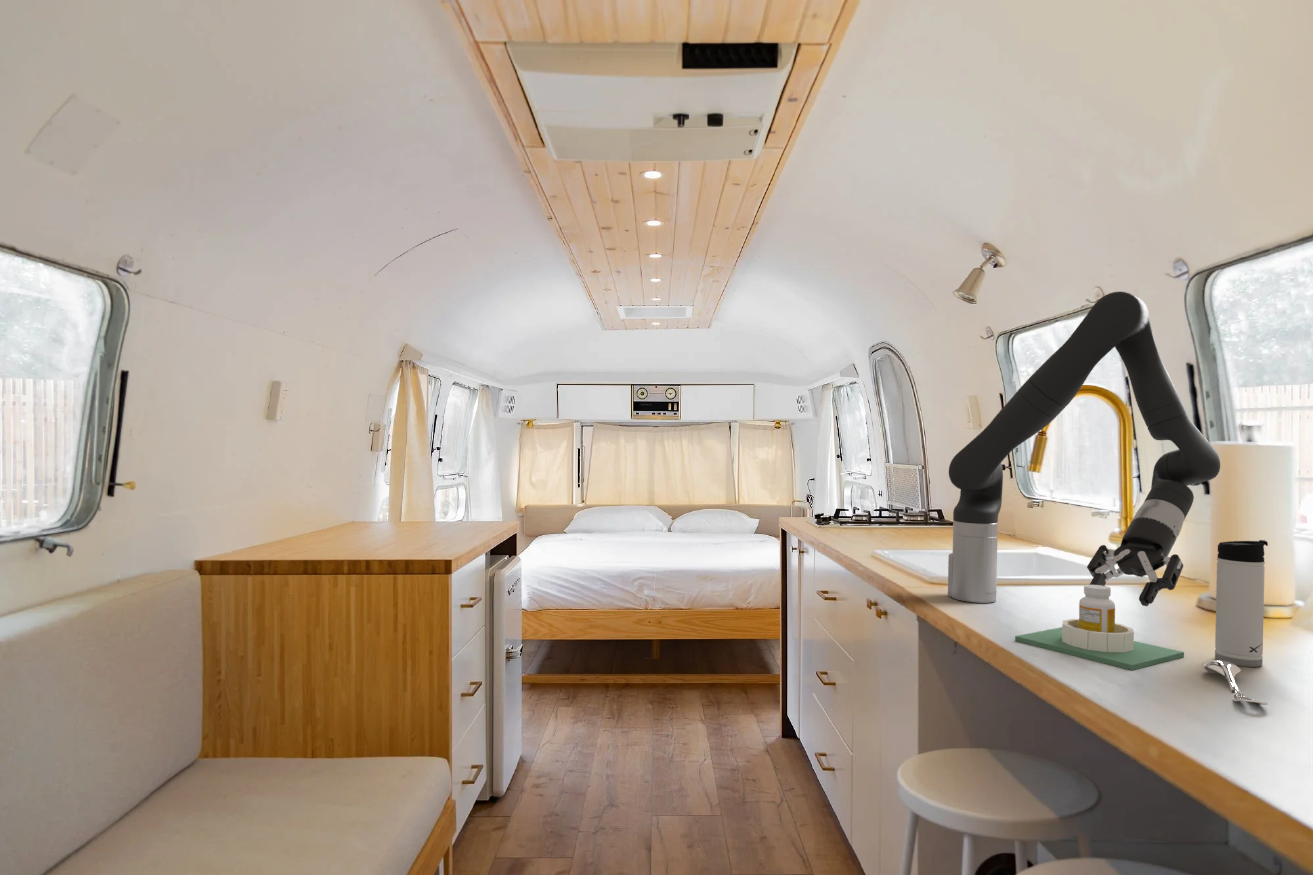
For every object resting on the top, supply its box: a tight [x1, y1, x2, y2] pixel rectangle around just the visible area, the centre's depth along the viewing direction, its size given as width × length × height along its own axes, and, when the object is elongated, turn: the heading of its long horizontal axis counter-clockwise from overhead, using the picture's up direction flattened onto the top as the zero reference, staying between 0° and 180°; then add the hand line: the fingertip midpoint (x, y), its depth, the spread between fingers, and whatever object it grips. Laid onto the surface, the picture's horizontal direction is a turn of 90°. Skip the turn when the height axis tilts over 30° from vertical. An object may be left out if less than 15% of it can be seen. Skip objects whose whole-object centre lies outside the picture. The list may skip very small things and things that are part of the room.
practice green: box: [1014, 618, 1185, 671], centre depth 136 cm, size 20×16×4 cm
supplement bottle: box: [1078, 584, 1116, 633], centre depth 136 cm, size 5×5×10 cm
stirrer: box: [1202, 659, 1269, 706], centre depth 114 cm, size 20×4×5 cm
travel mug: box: [1214, 539, 1269, 668], centre depth 129 cm, size 6×7×20 cm
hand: (1117, 598), depth 139 cm, fingers open, 8 cm apart
